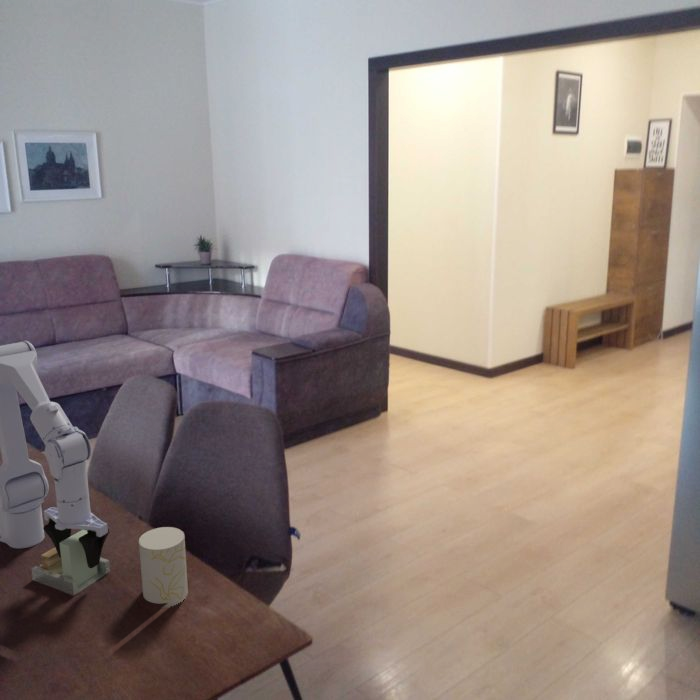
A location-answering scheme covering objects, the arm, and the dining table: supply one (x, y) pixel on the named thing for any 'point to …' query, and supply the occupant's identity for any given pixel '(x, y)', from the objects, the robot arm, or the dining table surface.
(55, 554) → the offcut stack
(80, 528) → the robot arm
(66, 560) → the sage green tall pillar
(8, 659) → the dining table surface
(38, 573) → the rack
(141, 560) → the cup
